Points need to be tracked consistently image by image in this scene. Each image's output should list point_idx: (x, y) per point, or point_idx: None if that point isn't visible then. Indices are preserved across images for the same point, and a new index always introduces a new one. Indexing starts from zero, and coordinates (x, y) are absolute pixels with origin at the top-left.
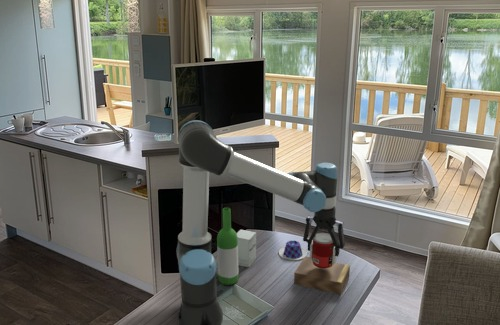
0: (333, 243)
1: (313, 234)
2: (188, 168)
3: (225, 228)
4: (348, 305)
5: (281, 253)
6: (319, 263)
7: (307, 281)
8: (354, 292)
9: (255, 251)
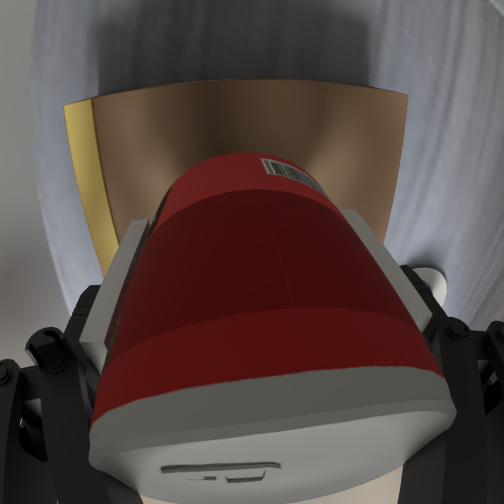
0: (87, 421)
1: (466, 465)
2: None
3: None
4: (46, 43)
5: (437, 292)
6: (252, 159)
7: (305, 80)
8: (57, 155)
9: None
